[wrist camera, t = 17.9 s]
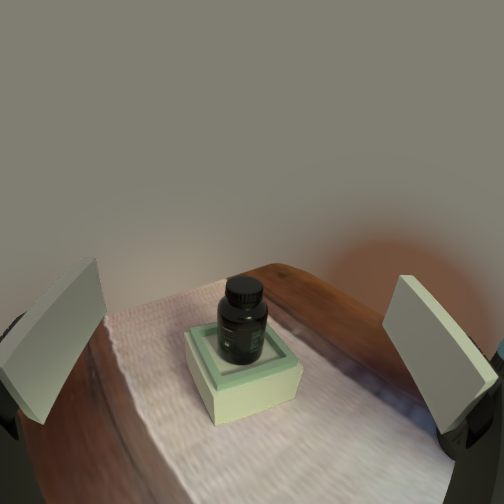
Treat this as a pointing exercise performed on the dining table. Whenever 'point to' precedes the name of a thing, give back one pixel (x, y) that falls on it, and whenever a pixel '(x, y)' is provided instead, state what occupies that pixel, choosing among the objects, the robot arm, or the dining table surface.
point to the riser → (240, 375)
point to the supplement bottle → (241, 321)
